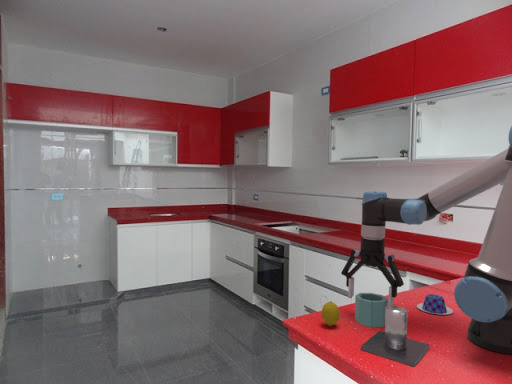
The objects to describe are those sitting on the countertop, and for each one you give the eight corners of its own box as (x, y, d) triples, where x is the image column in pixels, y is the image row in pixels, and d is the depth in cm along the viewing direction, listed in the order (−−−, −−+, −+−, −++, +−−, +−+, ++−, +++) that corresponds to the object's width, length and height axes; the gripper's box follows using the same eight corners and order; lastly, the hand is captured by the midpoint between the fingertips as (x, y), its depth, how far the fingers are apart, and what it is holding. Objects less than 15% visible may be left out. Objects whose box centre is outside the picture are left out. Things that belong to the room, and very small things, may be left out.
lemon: (317, 326, 114) (318, 301, 114) (327, 321, 118) (328, 297, 117) (332, 331, 110) (333, 305, 110) (342, 326, 114) (343, 301, 113)
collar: (390, 320, 119) (391, 297, 119) (379, 329, 112) (380, 304, 112) (363, 313, 125) (363, 291, 125) (351, 321, 118) (351, 297, 118)
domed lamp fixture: (429, 347, 100) (430, 308, 99) (414, 366, 89) (415, 322, 89) (379, 333, 109) (380, 297, 108) (360, 349, 98) (361, 309, 98)
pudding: (429, 317, 124) (429, 302, 124) (409, 305, 136) (410, 291, 136) (461, 316, 126) (461, 301, 126) (439, 304, 138) (439, 291, 138)
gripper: (416, 241, 113) (412, 308, 114) (343, 232, 129) (340, 290, 130) (408, 244, 107) (405, 314, 108) (333, 234, 123) (330, 295, 124)
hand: (370, 301), depth 119 cm, fingers open, 13 cm apart
